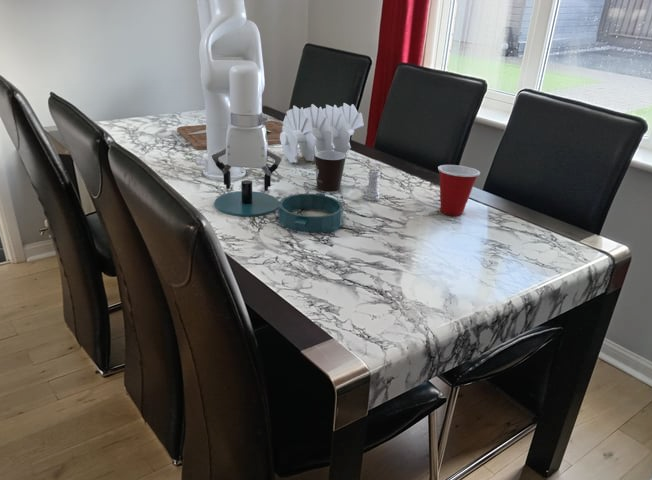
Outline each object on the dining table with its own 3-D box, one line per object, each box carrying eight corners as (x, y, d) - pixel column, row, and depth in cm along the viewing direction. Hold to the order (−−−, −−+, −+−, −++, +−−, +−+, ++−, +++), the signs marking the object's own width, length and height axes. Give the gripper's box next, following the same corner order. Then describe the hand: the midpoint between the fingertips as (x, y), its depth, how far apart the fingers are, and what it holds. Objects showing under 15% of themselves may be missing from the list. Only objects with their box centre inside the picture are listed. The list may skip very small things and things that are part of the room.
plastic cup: (474, 208, 157) (482, 165, 151) (469, 222, 148) (478, 177, 142) (434, 201, 160) (441, 159, 154) (427, 215, 151) (434, 170, 145)
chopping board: (188, 151, 189) (188, 141, 188) (168, 130, 210) (167, 122, 208) (311, 140, 208) (311, 132, 207) (281, 123, 229) (281, 115, 227)
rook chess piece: (368, 202, 157) (371, 173, 153) (360, 196, 161) (363, 168, 157) (382, 200, 159) (385, 172, 155) (374, 194, 162) (376, 167, 159)
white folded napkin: (277, 171, 189) (343, 160, 199) (299, 163, 173) (369, 151, 183) (265, 115, 186) (332, 106, 196) (287, 101, 170) (358, 92, 181)
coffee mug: (340, 196, 160) (343, 161, 155) (310, 192, 161) (311, 157, 156) (347, 183, 170) (349, 149, 165) (318, 179, 171) (320, 146, 166)
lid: (204, 213, 144) (203, 188, 141) (228, 192, 158) (228, 168, 155) (267, 222, 141) (267, 196, 138) (286, 200, 155) (287, 176, 152)
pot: (267, 233, 136) (267, 215, 133) (291, 203, 154) (292, 187, 151) (331, 243, 133) (332, 225, 131) (348, 211, 151) (350, 194, 149)
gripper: (283, 118, 142) (282, 185, 150) (213, 115, 142) (215, 182, 150) (281, 125, 136) (280, 194, 144) (207, 121, 135) (210, 191, 143)
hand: (247, 188), depth 147 cm, fingers open, 9 cm apart
